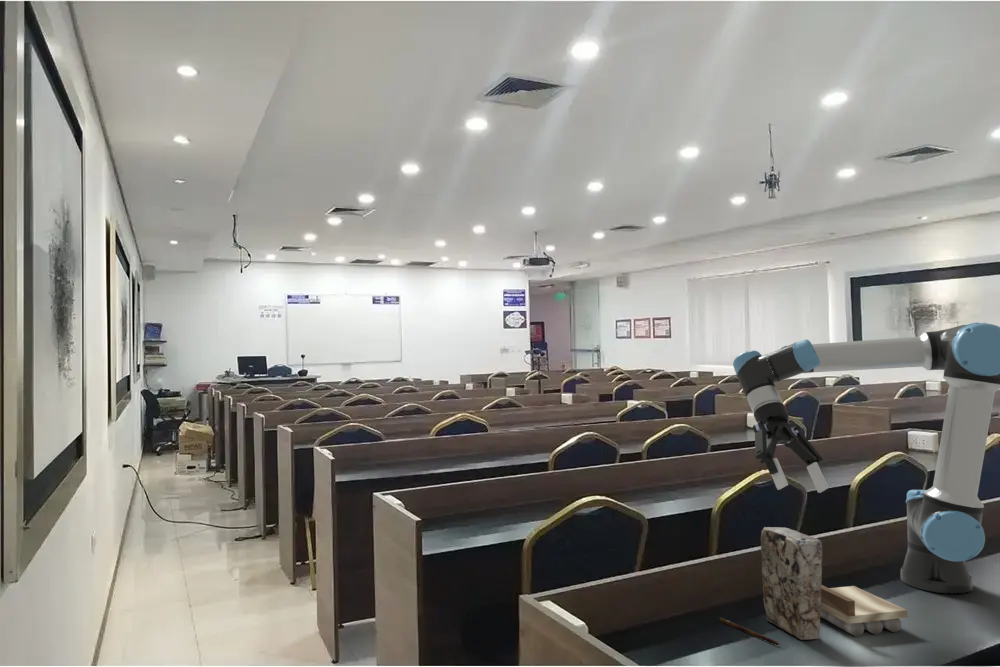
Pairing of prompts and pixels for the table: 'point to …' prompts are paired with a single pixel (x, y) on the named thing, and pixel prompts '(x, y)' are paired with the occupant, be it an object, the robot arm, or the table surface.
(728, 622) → the dark brown thin bar
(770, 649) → the table surface
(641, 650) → the table surface
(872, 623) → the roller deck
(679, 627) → the table surface
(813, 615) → the stone block
